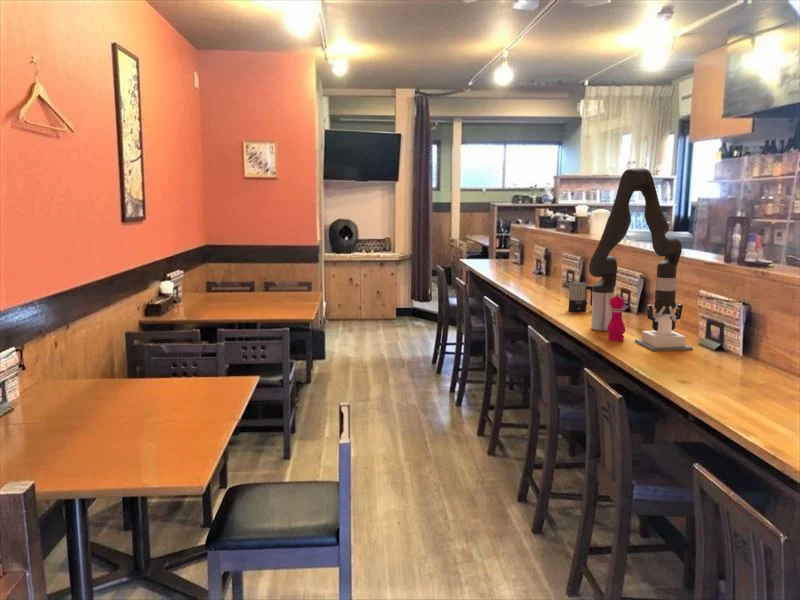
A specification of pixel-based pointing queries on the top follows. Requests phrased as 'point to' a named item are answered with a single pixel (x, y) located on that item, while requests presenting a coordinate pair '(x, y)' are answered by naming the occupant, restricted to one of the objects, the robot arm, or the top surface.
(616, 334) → the pepper mill
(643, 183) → the robot arm
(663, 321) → the white pointed cylinder
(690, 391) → the top surface
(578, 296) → the milk frother
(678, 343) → the holder
